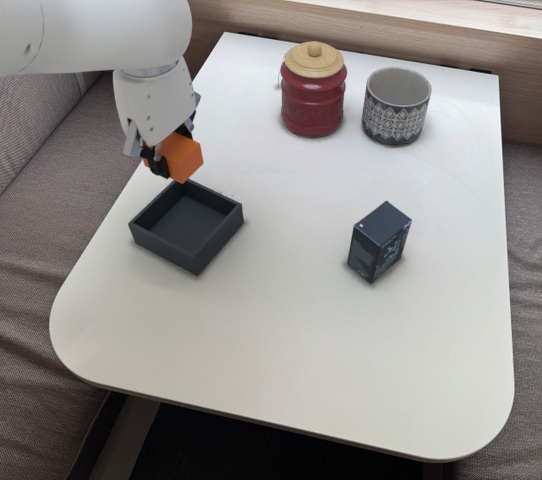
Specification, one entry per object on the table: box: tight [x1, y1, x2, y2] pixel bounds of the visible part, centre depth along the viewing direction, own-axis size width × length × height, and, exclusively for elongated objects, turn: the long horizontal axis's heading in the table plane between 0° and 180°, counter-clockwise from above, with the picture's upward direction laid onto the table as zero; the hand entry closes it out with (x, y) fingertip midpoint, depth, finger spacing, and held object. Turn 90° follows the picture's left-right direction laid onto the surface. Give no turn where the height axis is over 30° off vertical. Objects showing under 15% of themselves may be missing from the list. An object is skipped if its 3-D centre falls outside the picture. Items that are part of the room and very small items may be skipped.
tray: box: [127, 177, 245, 277], centre depth 88 cm, size 13×13×5 cm
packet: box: [139, 131, 205, 184], centre depth 75 cm, size 5×7×4 cm
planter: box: [361, 66, 433, 145], centre depth 105 cm, size 13×13×10 cm
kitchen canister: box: [279, 40, 348, 139], centre depth 103 cm, size 13×13×18 cm
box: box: [346, 200, 413, 284], centre depth 84 cm, size 8×6×11 cm
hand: (173, 161), depth 76 cm, fingers closed on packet, 5 cm apart
